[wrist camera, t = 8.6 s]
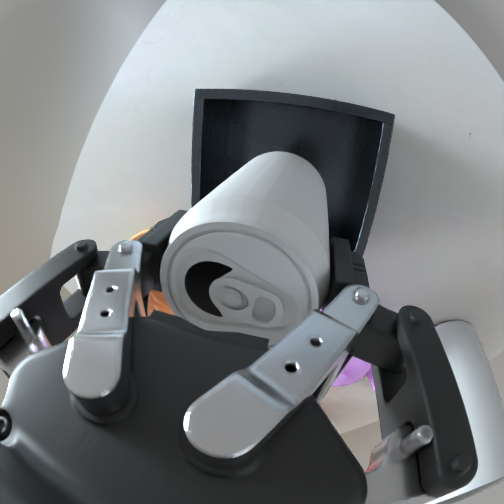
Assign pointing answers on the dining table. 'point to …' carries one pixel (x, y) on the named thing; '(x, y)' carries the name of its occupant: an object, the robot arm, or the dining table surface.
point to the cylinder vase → (475, 406)
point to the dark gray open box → (296, 148)
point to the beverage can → (252, 251)
